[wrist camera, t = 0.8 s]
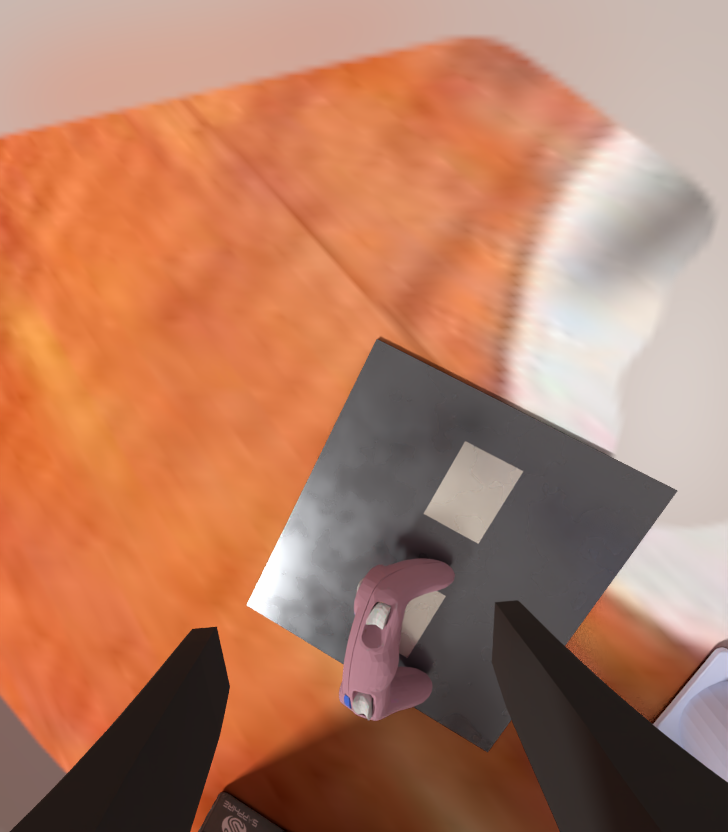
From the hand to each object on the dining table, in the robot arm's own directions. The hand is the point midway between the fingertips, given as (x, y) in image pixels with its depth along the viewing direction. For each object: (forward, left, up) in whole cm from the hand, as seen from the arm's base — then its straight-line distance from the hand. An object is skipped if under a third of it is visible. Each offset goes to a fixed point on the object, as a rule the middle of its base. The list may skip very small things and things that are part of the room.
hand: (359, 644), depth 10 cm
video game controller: (-4, +9, -16) cm, 19 cm away
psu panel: (-4, +4, -16) cm, 17 cm away
